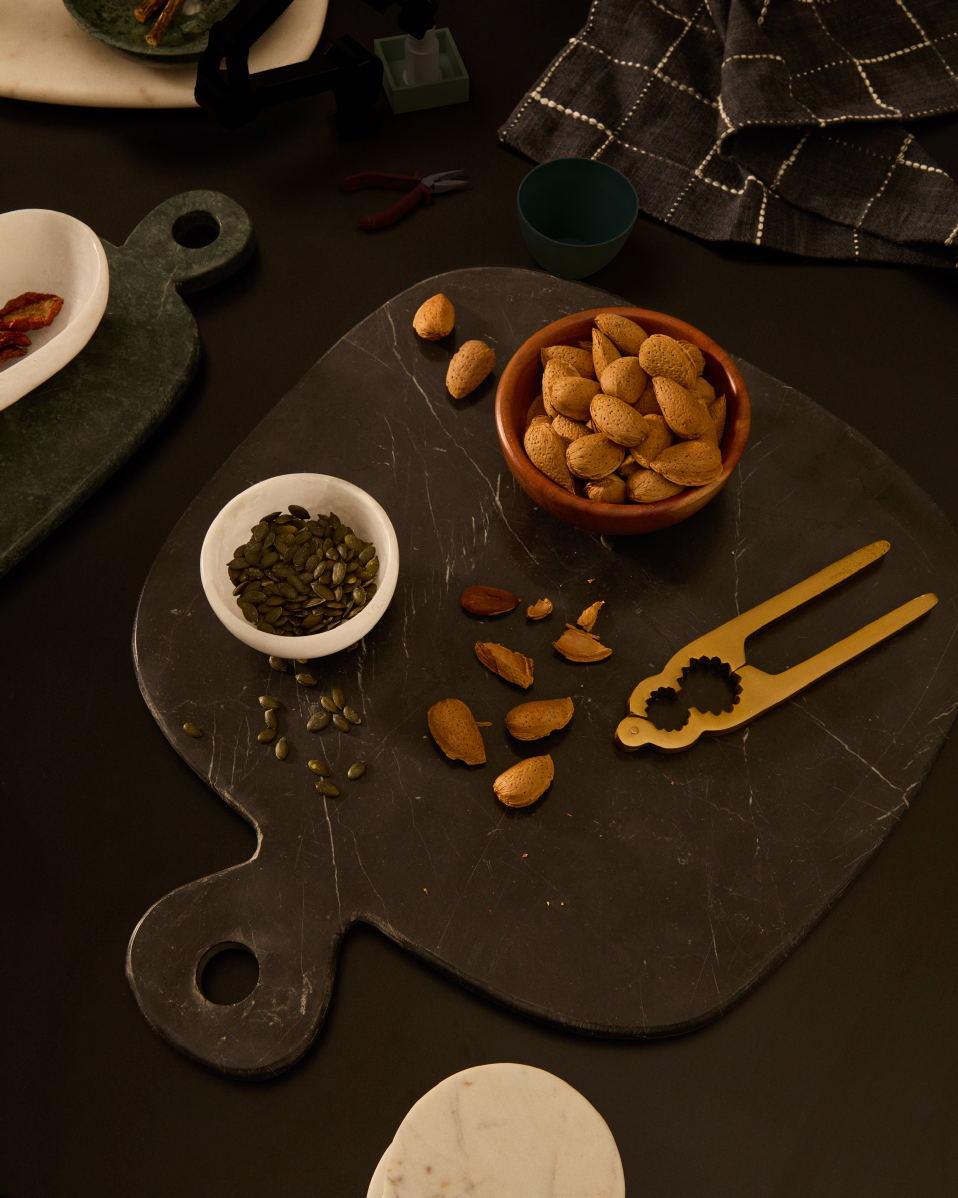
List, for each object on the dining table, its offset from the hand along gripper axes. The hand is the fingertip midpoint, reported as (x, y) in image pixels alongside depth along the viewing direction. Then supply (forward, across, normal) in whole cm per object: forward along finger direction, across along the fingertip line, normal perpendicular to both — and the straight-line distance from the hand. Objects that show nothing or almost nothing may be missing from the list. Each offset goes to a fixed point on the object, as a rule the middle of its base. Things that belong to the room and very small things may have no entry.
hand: (413, 12), depth 161 cm
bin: (+11, 0, +8) cm, 14 cm away
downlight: (+11, 0, +8) cm, 13 cm away
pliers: (-5, -19, +25) cm, 32 cm away
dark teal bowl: (+2, -46, +18) cm, 50 cm away
